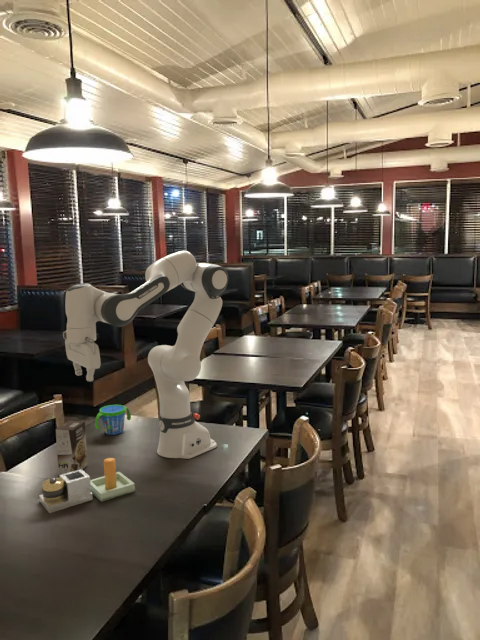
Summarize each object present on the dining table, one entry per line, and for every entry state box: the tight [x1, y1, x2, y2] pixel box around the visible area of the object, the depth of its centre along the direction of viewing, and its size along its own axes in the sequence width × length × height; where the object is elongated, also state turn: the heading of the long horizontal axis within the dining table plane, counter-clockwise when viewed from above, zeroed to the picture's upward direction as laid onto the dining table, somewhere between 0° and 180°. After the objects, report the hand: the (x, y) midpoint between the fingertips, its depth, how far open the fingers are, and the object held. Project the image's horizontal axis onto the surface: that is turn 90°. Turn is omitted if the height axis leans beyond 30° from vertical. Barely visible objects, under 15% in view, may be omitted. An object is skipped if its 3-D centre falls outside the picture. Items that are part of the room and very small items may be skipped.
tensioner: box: [38, 469, 94, 514], centre depth 160 cm, size 13×9×8 cm
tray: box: [90, 471, 136, 502], centre depth 167 cm, size 11×11×2 cm
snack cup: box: [94, 404, 132, 436], centre depth 217 cm, size 16×10×10 cm
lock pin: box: [103, 457, 117, 490], centre depth 167 cm, size 4×4×9 cm
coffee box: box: [55, 420, 88, 476], centre depth 181 cm, size 9×6×16 cm
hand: (84, 377), depth 171 cm, fingers open, 8 cm apart
